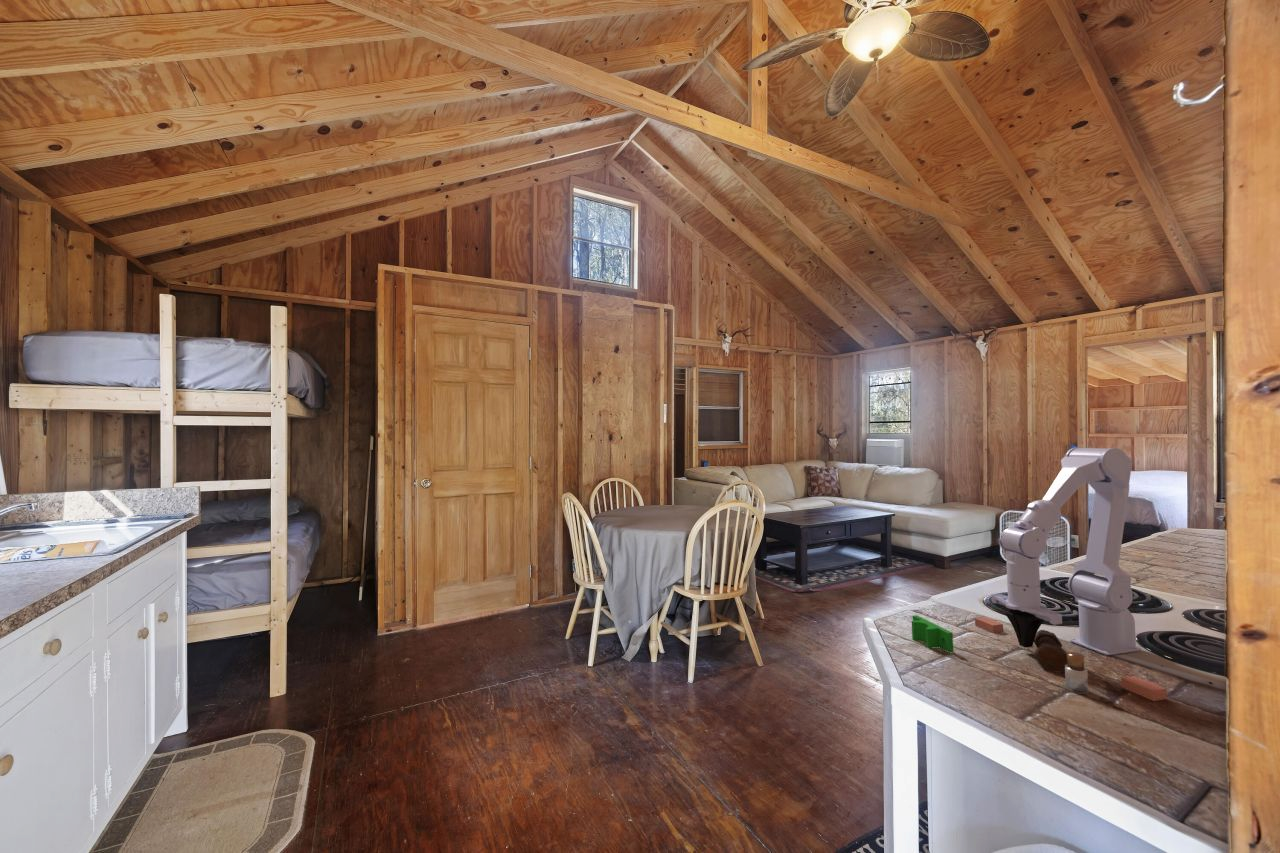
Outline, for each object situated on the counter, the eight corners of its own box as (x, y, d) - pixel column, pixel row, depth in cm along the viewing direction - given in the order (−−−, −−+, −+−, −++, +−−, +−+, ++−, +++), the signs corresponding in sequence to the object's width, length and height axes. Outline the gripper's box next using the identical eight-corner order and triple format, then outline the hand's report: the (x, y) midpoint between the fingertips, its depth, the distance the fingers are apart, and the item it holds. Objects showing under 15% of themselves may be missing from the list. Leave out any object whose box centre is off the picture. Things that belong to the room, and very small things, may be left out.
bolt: (1050, 654, 113) (1058, 679, 101) (1025, 638, 116) (1030, 661, 103) (1066, 634, 112) (1075, 657, 99) (1040, 618, 114) (1046, 639, 102)
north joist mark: (1134, 685, 95) (1133, 675, 95) (1166, 698, 90) (1166, 688, 90) (1121, 687, 94) (1121, 677, 94) (1153, 701, 89) (1153, 690, 89)
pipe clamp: (903, 635, 121) (902, 616, 121) (917, 634, 122) (916, 615, 122) (938, 654, 110) (937, 633, 110) (953, 653, 111) (952, 632, 111)
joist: (985, 624, 126) (984, 616, 126) (1003, 631, 121) (1003, 624, 121) (975, 625, 125) (974, 618, 125) (993, 633, 121) (992, 625, 121)
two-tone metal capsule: (1074, 684, 96) (1073, 650, 96) (1093, 692, 93) (1091, 657, 93) (1061, 686, 95) (1059, 652, 95) (1079, 695, 92) (1077, 659, 92)
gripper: (979, 576, 116) (981, 635, 116) (1041, 595, 102) (1044, 662, 102) (1004, 573, 118) (1007, 631, 117) (1069, 591, 104) (1072, 658, 103)
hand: (1026, 645), depth 110 cm, fingers closed
